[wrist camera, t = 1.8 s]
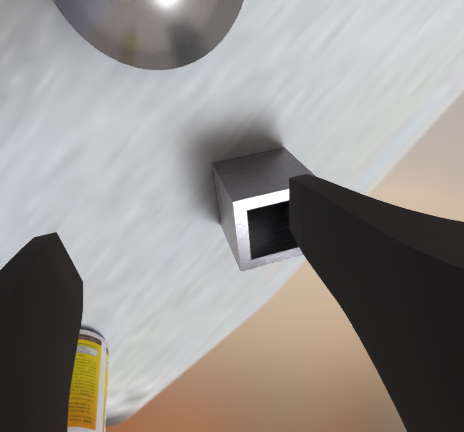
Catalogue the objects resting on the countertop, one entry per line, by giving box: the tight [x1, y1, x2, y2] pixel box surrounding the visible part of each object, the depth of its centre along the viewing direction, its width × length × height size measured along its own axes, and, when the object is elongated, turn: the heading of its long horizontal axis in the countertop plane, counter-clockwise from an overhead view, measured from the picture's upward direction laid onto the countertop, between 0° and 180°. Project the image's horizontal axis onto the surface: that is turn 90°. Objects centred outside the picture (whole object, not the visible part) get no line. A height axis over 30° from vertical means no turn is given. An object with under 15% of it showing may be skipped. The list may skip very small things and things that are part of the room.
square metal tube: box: [212, 148, 315, 271], centre depth 21 cm, size 5×5×5 cm
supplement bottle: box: [67, 329, 108, 432], centre depth 22 cm, size 6×6×10 cm
